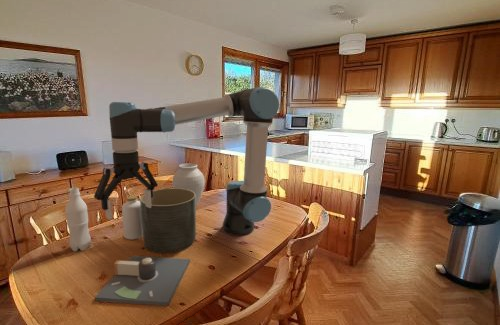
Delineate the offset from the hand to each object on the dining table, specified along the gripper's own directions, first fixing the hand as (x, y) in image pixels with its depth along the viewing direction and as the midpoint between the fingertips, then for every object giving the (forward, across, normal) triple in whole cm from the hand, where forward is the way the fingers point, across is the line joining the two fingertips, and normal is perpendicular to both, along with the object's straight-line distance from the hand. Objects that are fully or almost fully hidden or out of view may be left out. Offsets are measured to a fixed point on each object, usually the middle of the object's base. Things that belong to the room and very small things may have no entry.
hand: (129, 212), depth 88 cm
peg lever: (+20, +2, +6) cm, 21 cm away
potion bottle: (+21, -12, -22) cm, 33 cm away
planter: (+21, -20, -7) cm, 30 cm away
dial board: (+21, 0, +10) cm, 23 cm away
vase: (+21, -49, -32) cm, 62 cm away
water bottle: (+21, +8, -28) cm, 36 cm away
